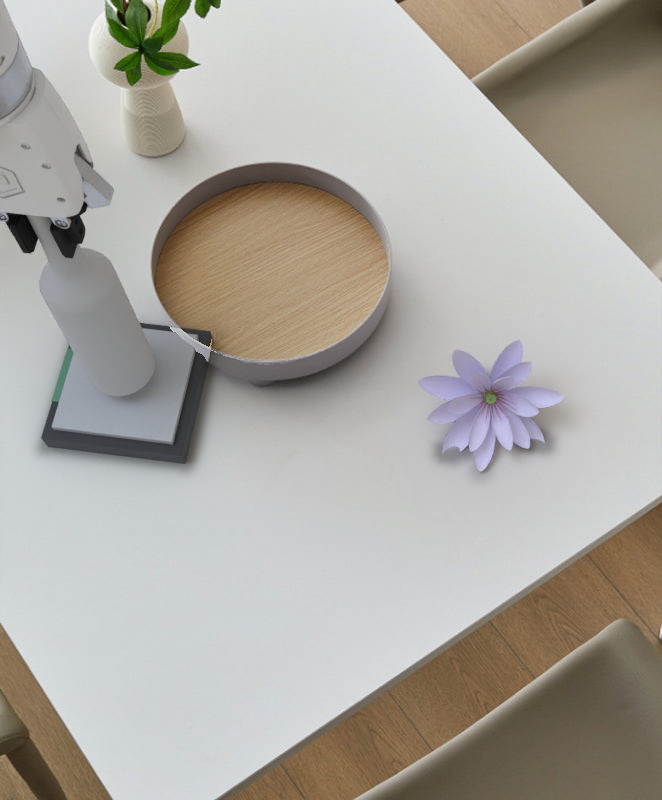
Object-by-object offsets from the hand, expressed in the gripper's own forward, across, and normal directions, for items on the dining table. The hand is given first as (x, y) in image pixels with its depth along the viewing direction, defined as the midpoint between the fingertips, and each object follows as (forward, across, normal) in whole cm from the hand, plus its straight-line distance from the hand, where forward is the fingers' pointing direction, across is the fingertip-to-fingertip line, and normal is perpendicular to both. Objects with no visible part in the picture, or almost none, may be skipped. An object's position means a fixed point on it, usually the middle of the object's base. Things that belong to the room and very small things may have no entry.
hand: (53, 239), depth 79 cm
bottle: (+23, 0, 0) cm, 23 cm away
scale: (+28, 0, 0) cm, 28 cm away
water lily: (+28, +36, +1) cm, 46 cm away
